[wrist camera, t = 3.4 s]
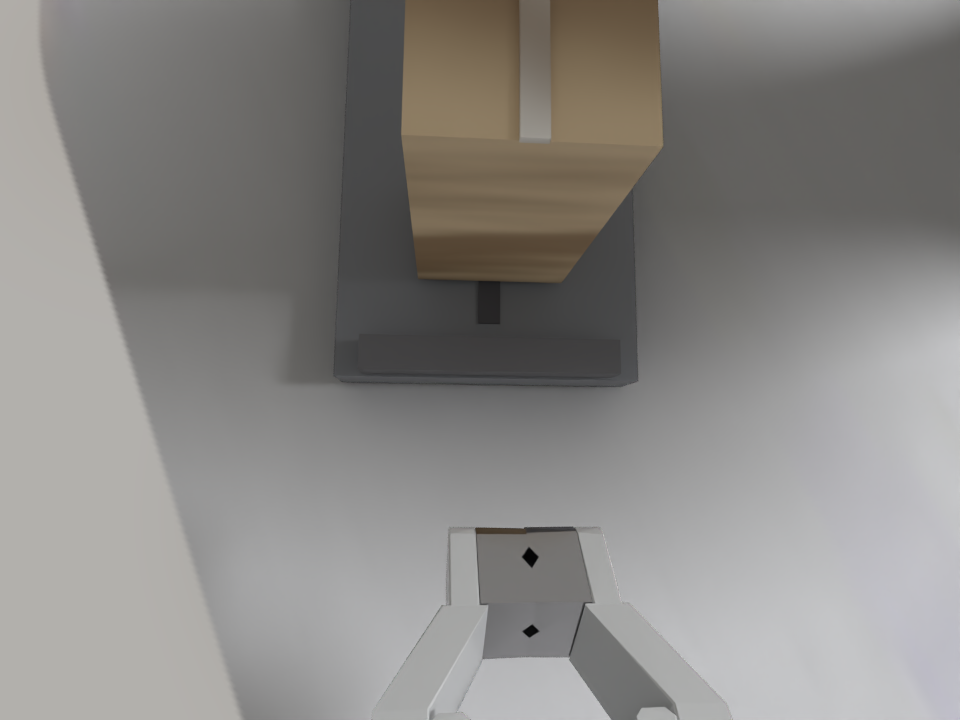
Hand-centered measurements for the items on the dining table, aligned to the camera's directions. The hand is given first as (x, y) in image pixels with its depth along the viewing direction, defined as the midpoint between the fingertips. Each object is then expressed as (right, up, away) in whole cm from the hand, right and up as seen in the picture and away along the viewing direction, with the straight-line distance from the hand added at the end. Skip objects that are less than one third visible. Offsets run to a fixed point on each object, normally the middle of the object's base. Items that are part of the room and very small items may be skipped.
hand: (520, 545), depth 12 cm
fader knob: (0, +8, +10) cm, 13 cm away
